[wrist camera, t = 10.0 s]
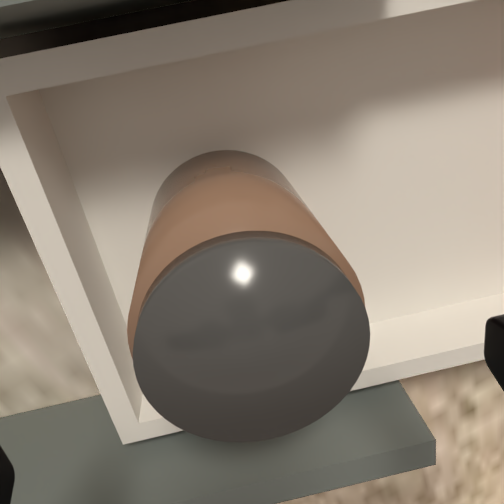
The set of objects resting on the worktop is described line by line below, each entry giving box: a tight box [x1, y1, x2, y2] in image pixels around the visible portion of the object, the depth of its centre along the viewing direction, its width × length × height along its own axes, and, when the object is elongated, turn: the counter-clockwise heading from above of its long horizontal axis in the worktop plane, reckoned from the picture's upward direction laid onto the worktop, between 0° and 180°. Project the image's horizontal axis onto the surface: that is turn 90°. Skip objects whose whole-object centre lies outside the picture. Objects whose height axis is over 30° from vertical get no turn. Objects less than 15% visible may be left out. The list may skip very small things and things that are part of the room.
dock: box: [0, 0, 436, 504], centre depth 14 cm, size 21×16×6 cm
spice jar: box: [127, 150, 370, 443], centre depth 12 cm, size 5×5×7 cm
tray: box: [0, 0, 504, 445], centre depth 13 cm, size 20×16×8 cm
